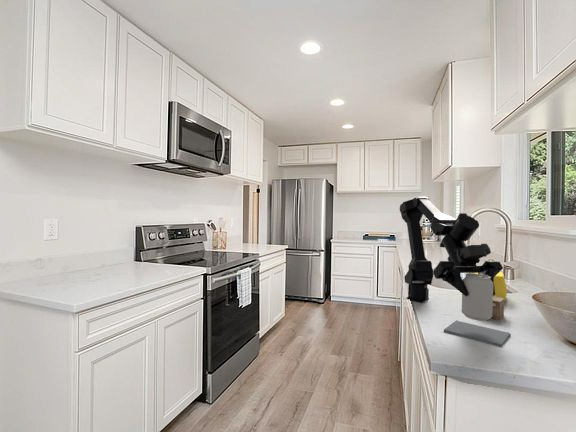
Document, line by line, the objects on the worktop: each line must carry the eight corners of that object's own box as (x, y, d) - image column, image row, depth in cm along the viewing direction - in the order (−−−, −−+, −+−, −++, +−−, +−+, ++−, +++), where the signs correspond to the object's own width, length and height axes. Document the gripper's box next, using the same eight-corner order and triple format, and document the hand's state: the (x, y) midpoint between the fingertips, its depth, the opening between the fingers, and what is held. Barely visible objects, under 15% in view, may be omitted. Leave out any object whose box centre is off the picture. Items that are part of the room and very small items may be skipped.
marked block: (478, 316, 106) (478, 298, 106) (483, 311, 111) (483, 294, 110) (499, 320, 102) (499, 301, 102) (503, 316, 106) (504, 298, 106)
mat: (443, 331, 92) (443, 329, 92) (456, 322, 99) (456, 320, 99) (501, 346, 82) (501, 344, 82) (510, 335, 90) (510, 333, 90)
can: (492, 323, 86) (493, 279, 85) (460, 318, 90) (461, 275, 89) (492, 315, 92) (493, 274, 92) (462, 311, 96) (463, 271, 96)
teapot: (470, 289, 142) (471, 263, 142) (504, 293, 136) (504, 265, 136) (469, 300, 125) (470, 270, 125) (508, 305, 119) (509, 273, 118)
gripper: (439, 233, 93) (462, 280, 82) (499, 234, 95) (529, 279, 84) (425, 256, 101) (444, 301, 91) (480, 256, 103) (505, 300, 92)
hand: (480, 295), depth 89 cm, fingers closed on can, 7 cm apart
